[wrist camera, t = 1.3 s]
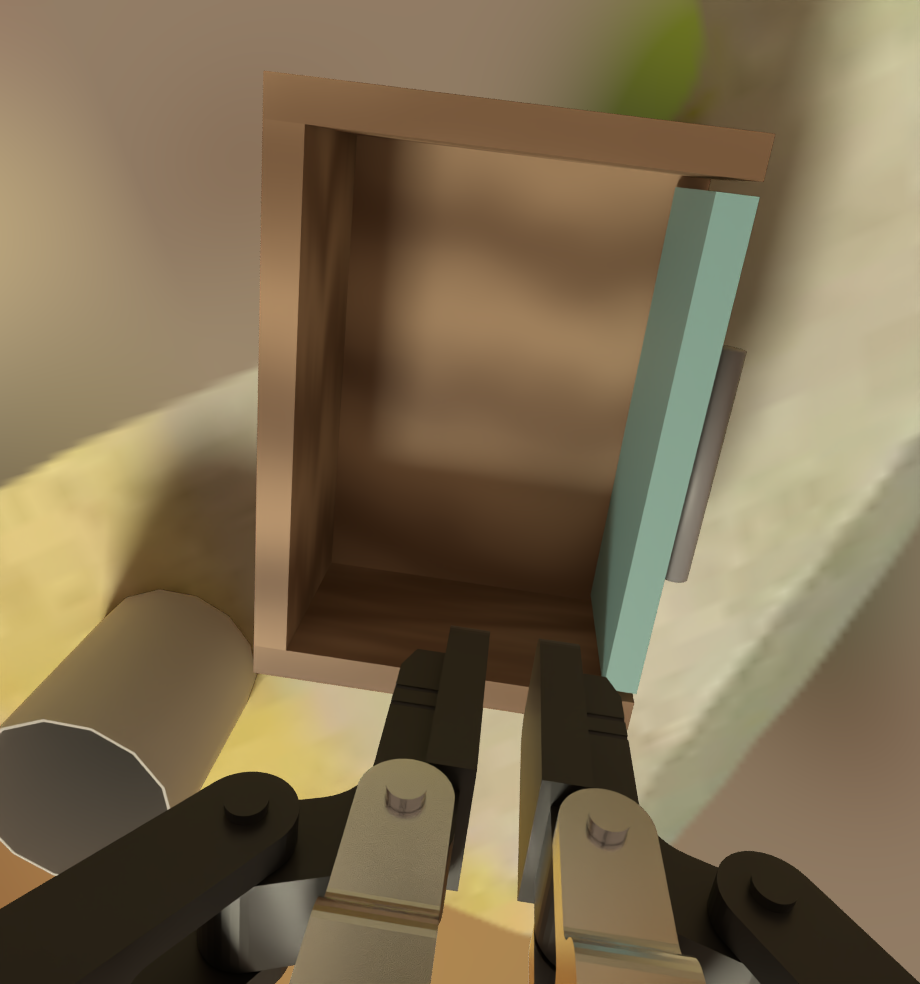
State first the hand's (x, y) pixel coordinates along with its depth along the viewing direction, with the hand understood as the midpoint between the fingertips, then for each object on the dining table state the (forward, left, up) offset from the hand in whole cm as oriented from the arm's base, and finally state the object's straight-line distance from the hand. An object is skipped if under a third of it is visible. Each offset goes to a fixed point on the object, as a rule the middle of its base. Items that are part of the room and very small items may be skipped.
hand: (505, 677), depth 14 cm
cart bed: (0, -2, -21) cm, 21 cm away
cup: (+17, -16, -21) cm, 31 cm away
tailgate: (0, +6, -19) cm, 20 cm away
